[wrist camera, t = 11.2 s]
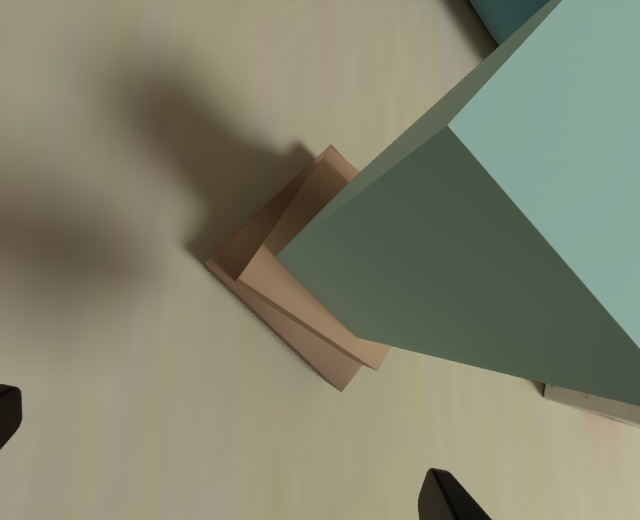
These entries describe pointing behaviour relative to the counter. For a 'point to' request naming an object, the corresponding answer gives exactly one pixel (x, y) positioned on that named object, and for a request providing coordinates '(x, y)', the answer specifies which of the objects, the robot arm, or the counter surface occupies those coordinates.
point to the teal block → (505, 214)
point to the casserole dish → (505, 15)
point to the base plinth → (298, 338)
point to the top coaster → (284, 289)
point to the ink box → (595, 405)
